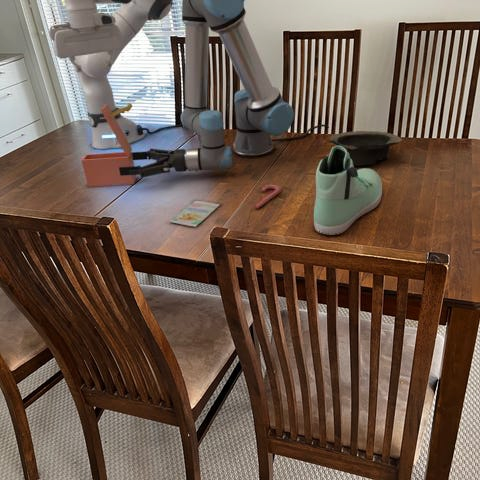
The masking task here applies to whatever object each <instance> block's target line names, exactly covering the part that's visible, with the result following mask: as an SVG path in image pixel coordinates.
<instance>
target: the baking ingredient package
mask: <svg viewBox="0 0 480 480" xmlns="http://www.w3.org/2000/svg"><path fill="white" fill-rule="evenodd" d="M219 206H221V204H220V203H215V202H210V201H209V202H208V201H202V200H196V199H195V200H194V201H193V202H192V203H190V204H189V205H188V206H186V208H184V209H183V210H182V211H180V212H179V213H178V214H177V215H175V216H174V217H173V218H172V219H171V220H169V223H173V224H174V223H175V224H178V225H183V226H188V227H194V228H196V227H197V226H198V225H199V224H200V223H202V222H203V221H204V220H205V219H206V218H207V217H208V216H210V215H211V214H212V213H213V212H214V211H215V210H216V209H218V207H219Z"/></svg>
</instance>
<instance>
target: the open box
mask: <svg viewBox="0 0 480 480" xmlns="http://www.w3.org/2000/svg"><path fill="white" fill-rule="evenodd" d="M132 152H133V151H131V153H130V155H129V156H126V154H125V152H124V151H118V152H102V153H101V152H100V153H87V154H85V155H84V156H83V158H82V159H81V164H82V168H83V173H84V176H85V180H86V184H87V187H88V188H93V187H95V188H96V187H110V186H123V185H124V186H125V185H134V184H135V182H136V180H137V178H138V177H137V175H123V176H120V171H119V167H131V166H135V162H134V161H135V160H133V156H132Z"/></svg>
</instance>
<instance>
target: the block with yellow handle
mask: <svg viewBox="0 0 480 480" xmlns="http://www.w3.org/2000/svg"><path fill="white" fill-rule="evenodd" d="M120 108H121V109H120ZM120 108H119V109H118V110H116V111H114V112H112V111H111V110H110V108H109V106H108V104H106V105H105V106H104V107H103V108H102V109H101V111H102V113H103V115H104V117H105V118H106V120H107V122H108V124H109V125H110V127H111V129H112V131H113V133H114V134H115V136H116V138H117V140H118V142H119V143H120V145H121V147H122V148H121V149H122V150H123V152H125V154H126V156H129V155H130V153H131V152H133V148H132V146H131V144H129V142H128V141H127V139H126V137H125V135H124V133H123V131H122V130H121V128H120V126H119V124H118V122H117V121H116V119H115V117H114V116H116V115H118V114H124V113H123V112H130V111H131V109H132V108H133V104H132V103H128V104H127V105H126V106H124V107H123V106H122V107H120Z"/></svg>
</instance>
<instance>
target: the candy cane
mask: <svg viewBox="0 0 480 480" xmlns="http://www.w3.org/2000/svg"><path fill="white" fill-rule="evenodd" d="M268 190H274V191H272V192H271V193H270V194H268V195H267V196H265V197H264V198H262V199H261V200H260V201H259V202H257V203H256V204H255V205H254V208H255V209H260V208H261V207H262V206H264V205H266V204H267V203H268V202H269V201H270V200H272V199H273V198H274V197H276V196H277V195H279V194H280V193H281V191H282V189H281V187H280V186H279V185H277V184H267V185H264V186H262V188H261V192H263V193H265V192H266V191H268Z"/></svg>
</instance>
